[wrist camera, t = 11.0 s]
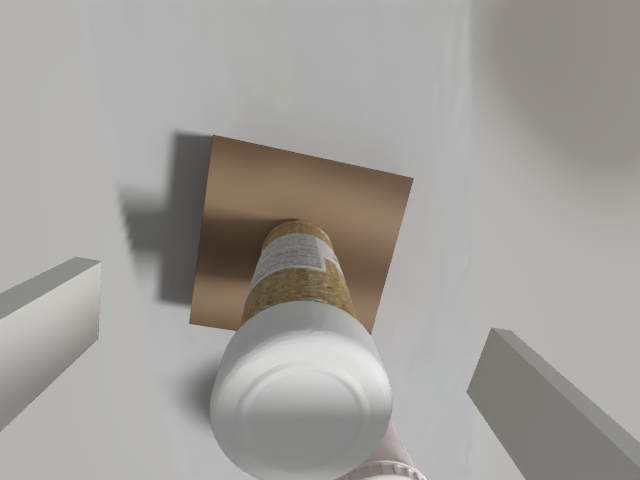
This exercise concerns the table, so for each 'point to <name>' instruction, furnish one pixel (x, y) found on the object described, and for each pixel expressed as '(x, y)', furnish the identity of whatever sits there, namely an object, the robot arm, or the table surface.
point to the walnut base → (289, 205)
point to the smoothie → (386, 462)
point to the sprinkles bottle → (299, 368)
